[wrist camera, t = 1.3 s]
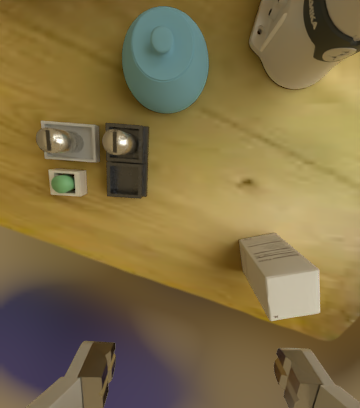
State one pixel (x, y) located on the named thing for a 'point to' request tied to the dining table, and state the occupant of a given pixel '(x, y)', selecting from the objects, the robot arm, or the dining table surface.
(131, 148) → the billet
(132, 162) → the dark two-compartment tray
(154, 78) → the sugar bowl
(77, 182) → the box
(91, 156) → the tote
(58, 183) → the button
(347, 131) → the dining table surface
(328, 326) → the dining table surface
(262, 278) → the supplement box
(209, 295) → the dining table surface
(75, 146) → the cylinder
